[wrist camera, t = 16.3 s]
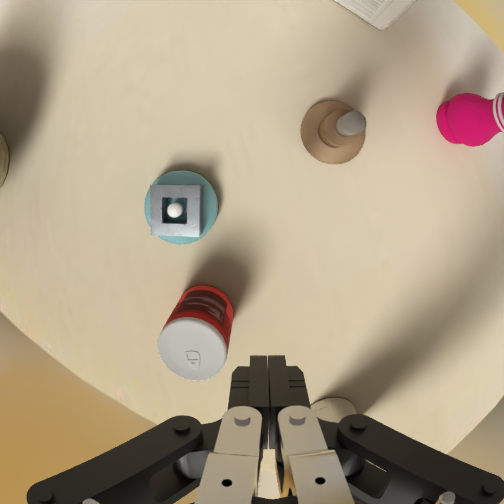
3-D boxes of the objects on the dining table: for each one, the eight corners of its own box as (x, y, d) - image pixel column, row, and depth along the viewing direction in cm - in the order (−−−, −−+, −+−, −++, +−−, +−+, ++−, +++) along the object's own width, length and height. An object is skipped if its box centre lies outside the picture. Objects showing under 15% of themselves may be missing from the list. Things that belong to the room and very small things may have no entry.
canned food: (193, 341, 45) (177, 388, 34) (169, 293, 43) (144, 331, 32) (243, 325, 44) (238, 371, 33) (219, 275, 42) (207, 310, 31)
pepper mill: (427, 100, 35) (524, 70, 16) (464, 96, 35) (559, 74, 15) (440, 150, 37) (543, 149, 18) (475, 144, 37) (575, 143, 17)
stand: (374, 137, 37) (407, 129, 27) (330, 177, 39) (353, 179, 29) (332, 90, 36) (354, 67, 26) (287, 129, 37) (296, 116, 28)
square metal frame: (203, 184, 37) (200, 185, 35) (202, 232, 39) (199, 236, 36) (156, 183, 37) (150, 185, 35) (157, 230, 39) (150, 235, 36)
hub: (233, 206, 40) (230, 211, 35) (183, 254, 42) (175, 264, 37) (183, 155, 38) (174, 154, 34) (136, 205, 40) (123, 210, 36)
